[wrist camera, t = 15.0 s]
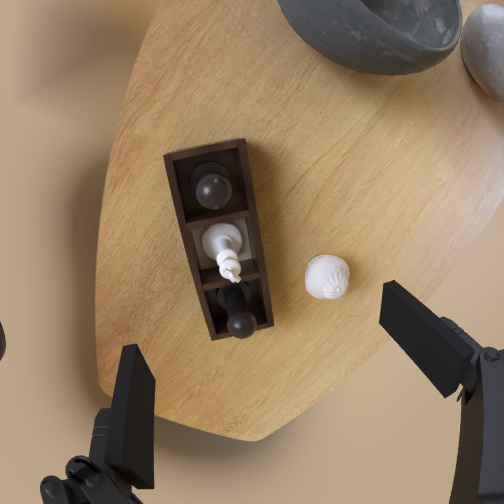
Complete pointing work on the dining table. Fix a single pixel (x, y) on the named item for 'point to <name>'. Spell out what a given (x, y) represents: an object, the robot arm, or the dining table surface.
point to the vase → (485, 49)
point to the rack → (236, 211)
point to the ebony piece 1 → (211, 184)
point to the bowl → (378, 32)
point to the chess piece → (223, 248)
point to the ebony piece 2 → (237, 309)
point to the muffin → (327, 277)
